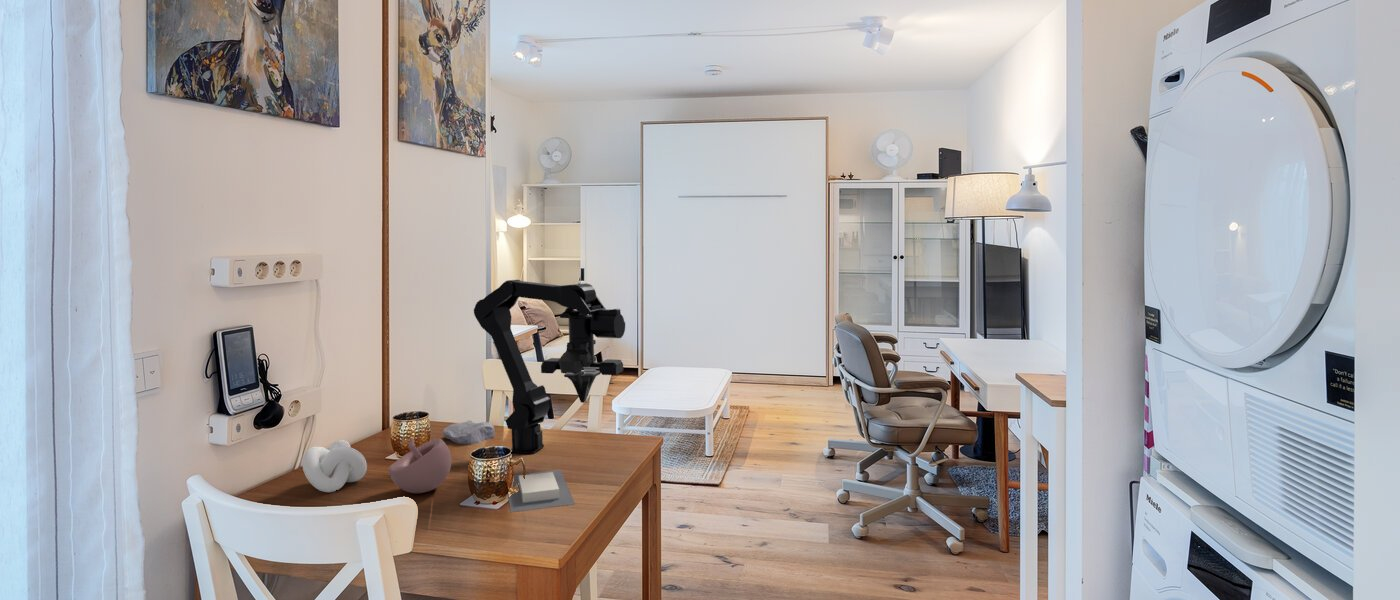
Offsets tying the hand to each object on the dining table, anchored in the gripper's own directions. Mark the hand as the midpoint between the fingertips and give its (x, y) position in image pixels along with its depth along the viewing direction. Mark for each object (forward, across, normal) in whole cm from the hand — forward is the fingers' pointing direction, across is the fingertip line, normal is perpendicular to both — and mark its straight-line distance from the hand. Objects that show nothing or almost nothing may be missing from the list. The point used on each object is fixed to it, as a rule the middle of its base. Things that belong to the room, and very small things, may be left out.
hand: (583, 402), depth 165 cm
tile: (+12, -2, -21) cm, 24 cm away
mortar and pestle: (+13, -24, -29) cm, 40 cm away
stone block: (+14, -37, +9) cm, 40 cm away
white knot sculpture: (+13, -45, -29) cm, 55 cm away
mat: (+13, 0, -24) cm, 28 cm away
